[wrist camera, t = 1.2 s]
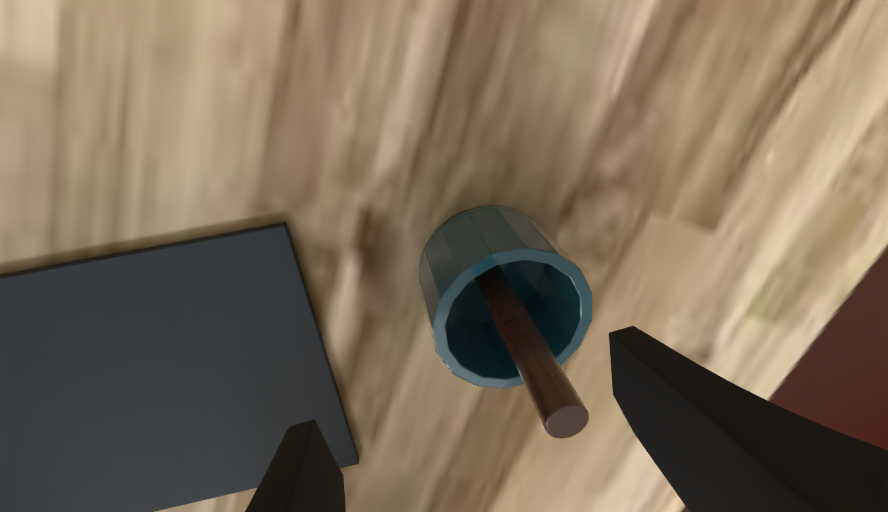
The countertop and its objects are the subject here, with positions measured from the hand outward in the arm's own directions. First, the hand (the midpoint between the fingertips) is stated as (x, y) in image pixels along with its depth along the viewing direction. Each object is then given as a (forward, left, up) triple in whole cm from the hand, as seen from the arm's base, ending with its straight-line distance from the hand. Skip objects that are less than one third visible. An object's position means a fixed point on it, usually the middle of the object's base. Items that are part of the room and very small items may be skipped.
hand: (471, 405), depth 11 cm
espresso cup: (-2, -3, -10) cm, 11 cm away
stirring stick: (-2, -3, -10) cm, 11 cm away
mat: (-5, +16, -10) cm, 20 cm away
